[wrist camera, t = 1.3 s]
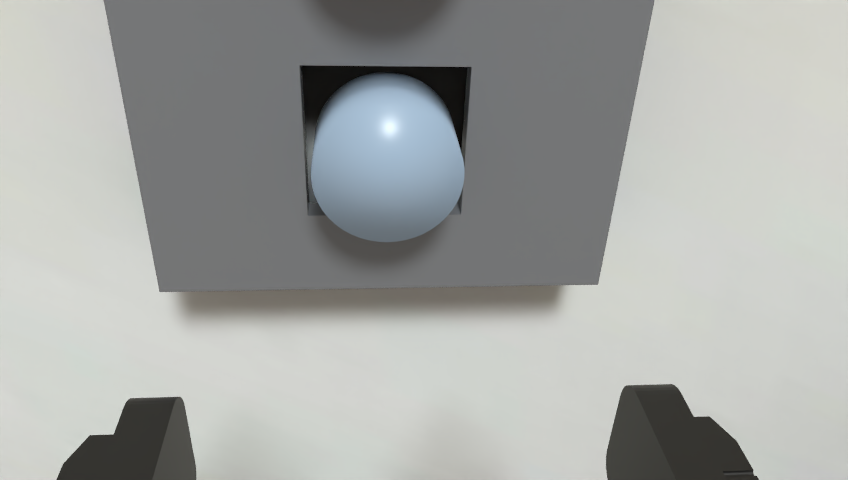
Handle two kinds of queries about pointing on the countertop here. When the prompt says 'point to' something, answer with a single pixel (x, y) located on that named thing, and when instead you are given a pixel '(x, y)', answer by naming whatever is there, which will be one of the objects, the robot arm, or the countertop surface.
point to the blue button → (386, 158)
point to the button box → (286, 139)
